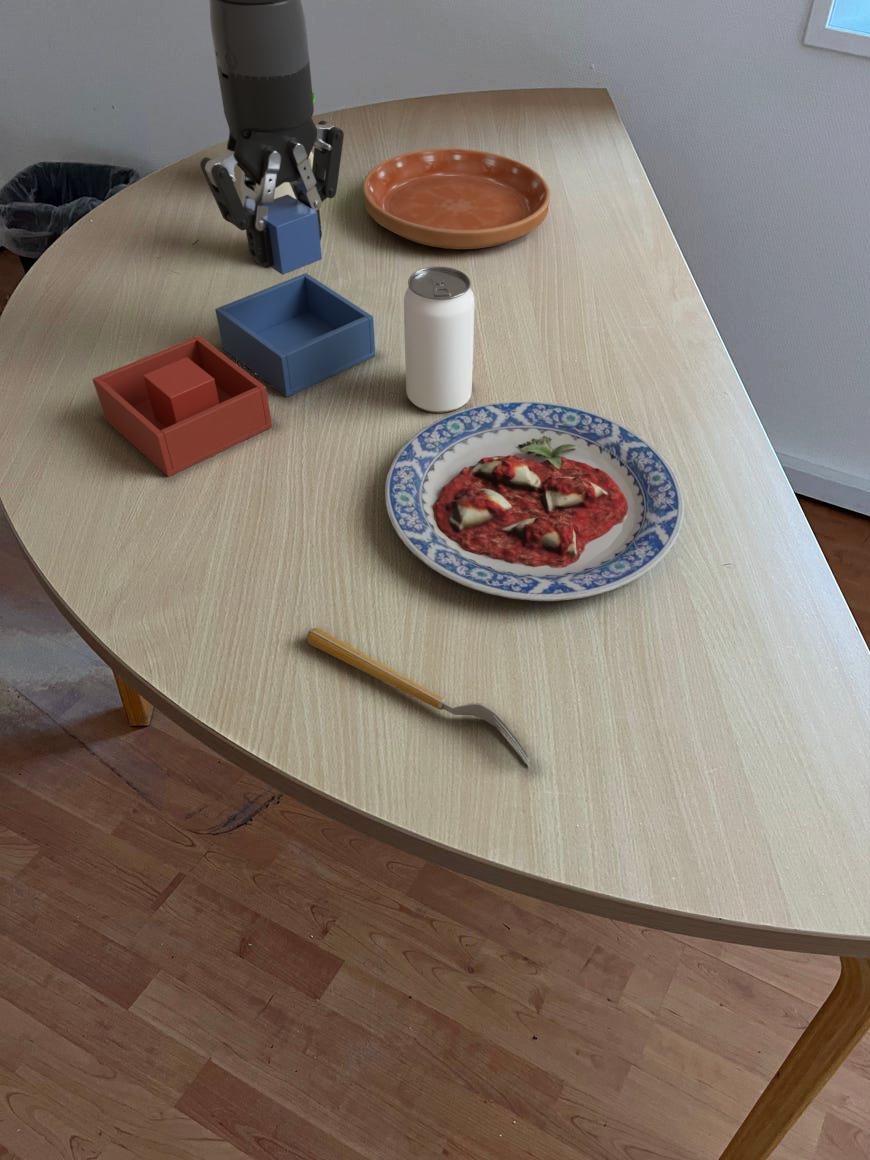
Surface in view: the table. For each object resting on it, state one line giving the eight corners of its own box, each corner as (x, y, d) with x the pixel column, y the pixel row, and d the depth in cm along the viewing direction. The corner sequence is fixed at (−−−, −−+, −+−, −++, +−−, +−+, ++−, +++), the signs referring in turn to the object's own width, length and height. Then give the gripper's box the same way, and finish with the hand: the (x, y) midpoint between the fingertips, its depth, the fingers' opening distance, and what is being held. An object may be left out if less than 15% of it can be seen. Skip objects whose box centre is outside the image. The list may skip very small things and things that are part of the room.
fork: (297, 636, 72) (527, 755, 65) (311, 617, 72) (541, 733, 65) (306, 652, 74) (530, 769, 67) (320, 634, 74) (543, 748, 68)
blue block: (282, 275, 89) (276, 226, 86) (253, 256, 91) (246, 208, 88) (322, 259, 91) (317, 211, 88) (293, 241, 93) (287, 193, 90)
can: (466, 374, 97) (469, 262, 88) (476, 412, 93) (481, 298, 84) (402, 378, 96) (399, 265, 87) (410, 417, 92) (407, 303, 83)
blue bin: (286, 397, 94) (281, 357, 90) (222, 348, 99) (214, 308, 95) (375, 355, 99) (373, 316, 96) (310, 311, 104) (306, 272, 101)
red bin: (168, 477, 85) (157, 436, 82) (104, 419, 90) (91, 378, 87) (272, 427, 91) (266, 386, 87) (206, 375, 96) (198, 334, 92)
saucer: (486, 162, 130) (488, 133, 127) (583, 234, 118) (587, 204, 115) (333, 197, 122) (331, 167, 119) (420, 278, 109) (420, 247, 107)
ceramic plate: (605, 664, 73) (610, 639, 71) (327, 542, 81) (323, 516, 78) (721, 478, 88) (728, 452, 86) (477, 390, 96) (478, 364, 93)
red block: (180, 440, 88) (170, 398, 85) (153, 417, 90) (142, 375, 87) (223, 420, 90) (214, 378, 87) (196, 398, 92) (186, 356, 89)
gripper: (305, 24, 83) (323, 218, 96) (160, 61, 76) (200, 264, 89) (360, 49, 80) (371, 246, 93) (213, 90, 73) (246, 296, 86)
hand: (287, 254), depth 91 cm, fingers closed on blue block, 4 cm apart
